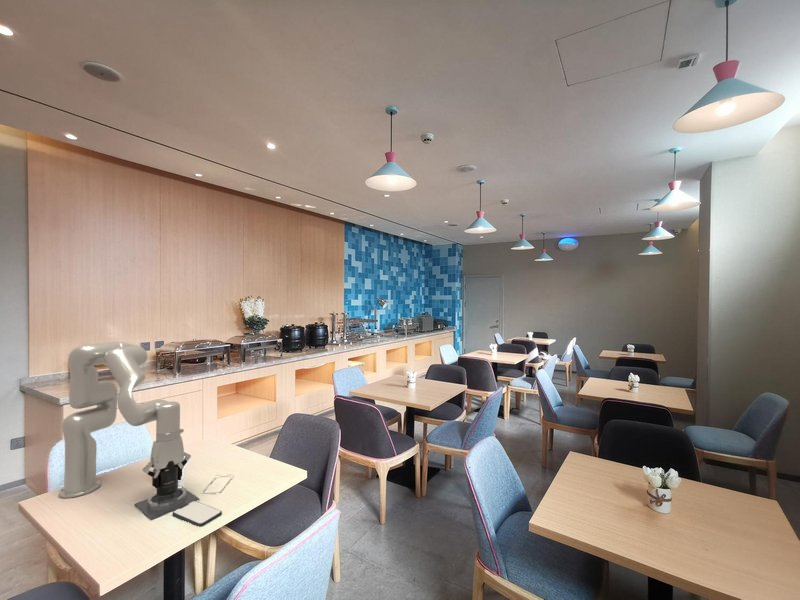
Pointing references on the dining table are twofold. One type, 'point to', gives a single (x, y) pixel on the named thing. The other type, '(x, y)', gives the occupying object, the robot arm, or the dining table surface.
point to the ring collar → (165, 503)
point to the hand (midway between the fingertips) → (167, 482)
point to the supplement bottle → (168, 480)
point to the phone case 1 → (197, 513)
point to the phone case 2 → (214, 492)
